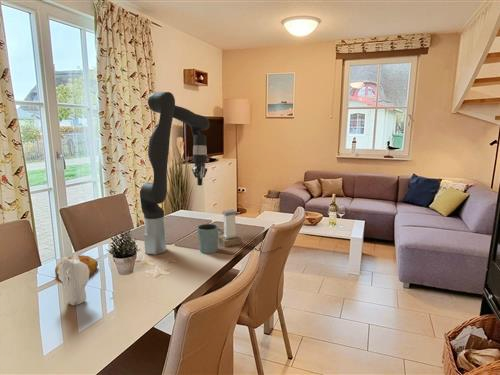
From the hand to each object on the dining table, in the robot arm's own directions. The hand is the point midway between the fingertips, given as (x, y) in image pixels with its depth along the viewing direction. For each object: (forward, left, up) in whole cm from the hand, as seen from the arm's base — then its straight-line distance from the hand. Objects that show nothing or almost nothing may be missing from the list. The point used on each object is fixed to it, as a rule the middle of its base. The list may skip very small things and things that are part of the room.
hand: (199, 185), depth 181 cm
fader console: (-7, -18, -27) cm, 33 cm away
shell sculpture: (-82, +2, -27) cm, 86 cm away
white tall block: (-12, -24, -23) cm, 35 cm away
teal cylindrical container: (-24, -18, -27) cm, 40 cm away
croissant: (-66, +21, -27) cm, 74 cm away
